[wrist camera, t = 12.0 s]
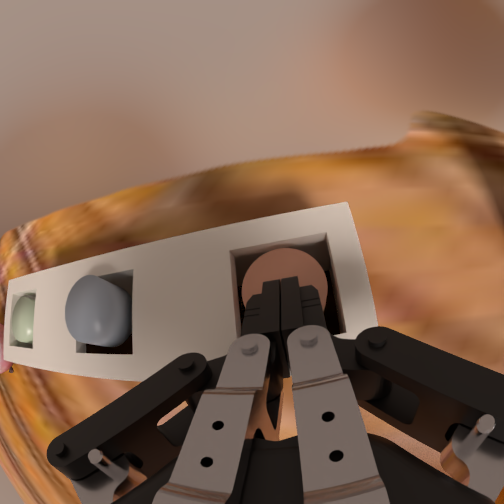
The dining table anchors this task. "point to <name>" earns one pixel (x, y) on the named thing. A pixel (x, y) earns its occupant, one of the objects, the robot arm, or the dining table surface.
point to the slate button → (98, 312)
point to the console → (187, 292)
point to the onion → (3, 365)
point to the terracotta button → (284, 272)
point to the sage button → (23, 320)
